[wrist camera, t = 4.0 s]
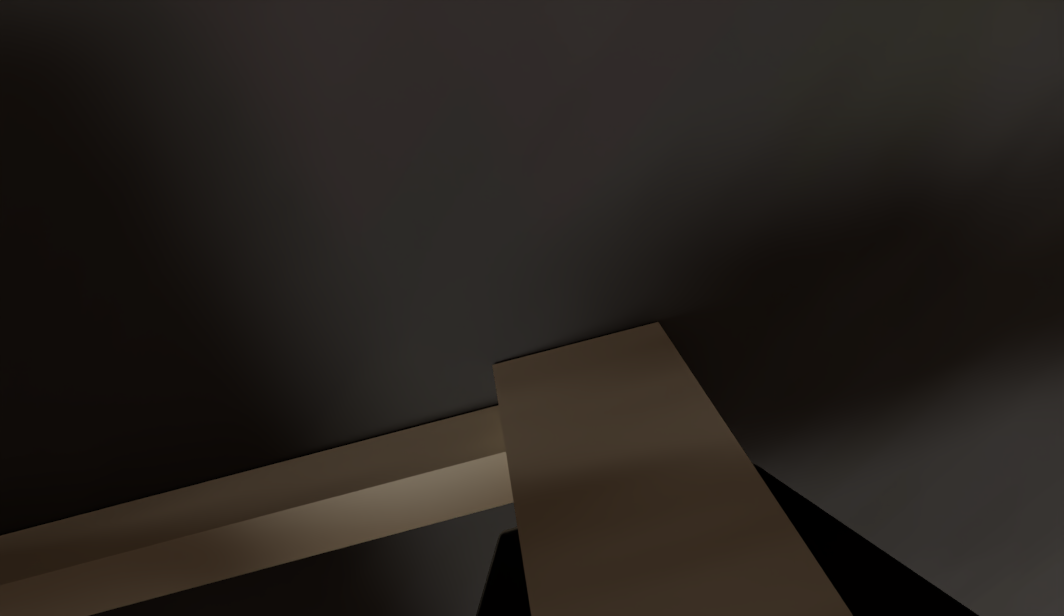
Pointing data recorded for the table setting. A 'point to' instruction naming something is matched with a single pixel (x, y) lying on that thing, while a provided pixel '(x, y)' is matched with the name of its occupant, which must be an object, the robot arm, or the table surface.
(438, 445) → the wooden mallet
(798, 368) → the table surface
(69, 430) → the table surface
